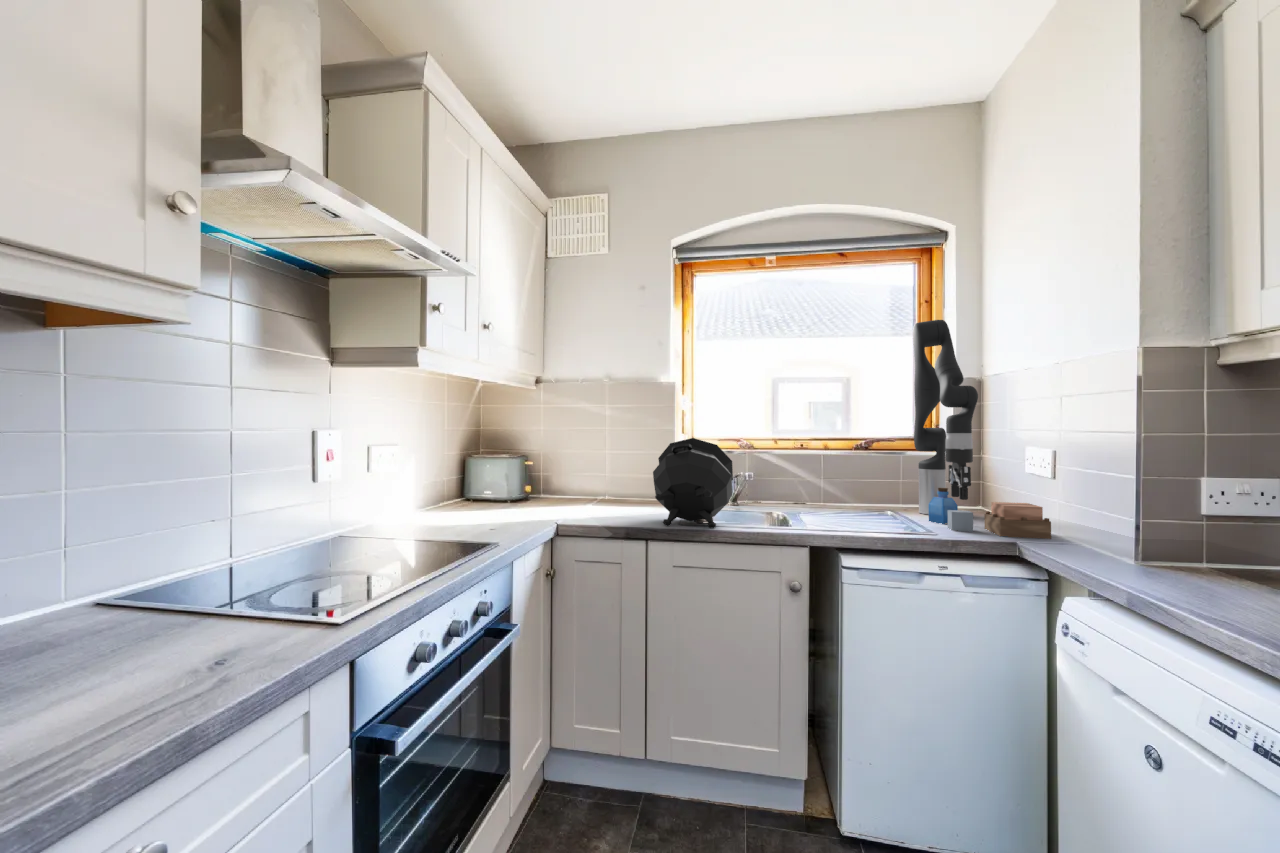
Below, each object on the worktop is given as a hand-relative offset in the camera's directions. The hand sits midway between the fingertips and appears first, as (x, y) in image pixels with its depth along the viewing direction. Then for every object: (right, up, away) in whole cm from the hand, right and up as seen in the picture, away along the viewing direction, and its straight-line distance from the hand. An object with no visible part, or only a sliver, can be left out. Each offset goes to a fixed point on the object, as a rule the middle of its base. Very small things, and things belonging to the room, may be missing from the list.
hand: (959, 498), depth 170 cm
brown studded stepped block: (+13, -10, -7) cm, 18 cm away
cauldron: (-84, -10, +9) cm, 85 cm away
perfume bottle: (+3, -11, +15) cm, 18 cm away
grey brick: (0, -10, 0) cm, 10 cm away
